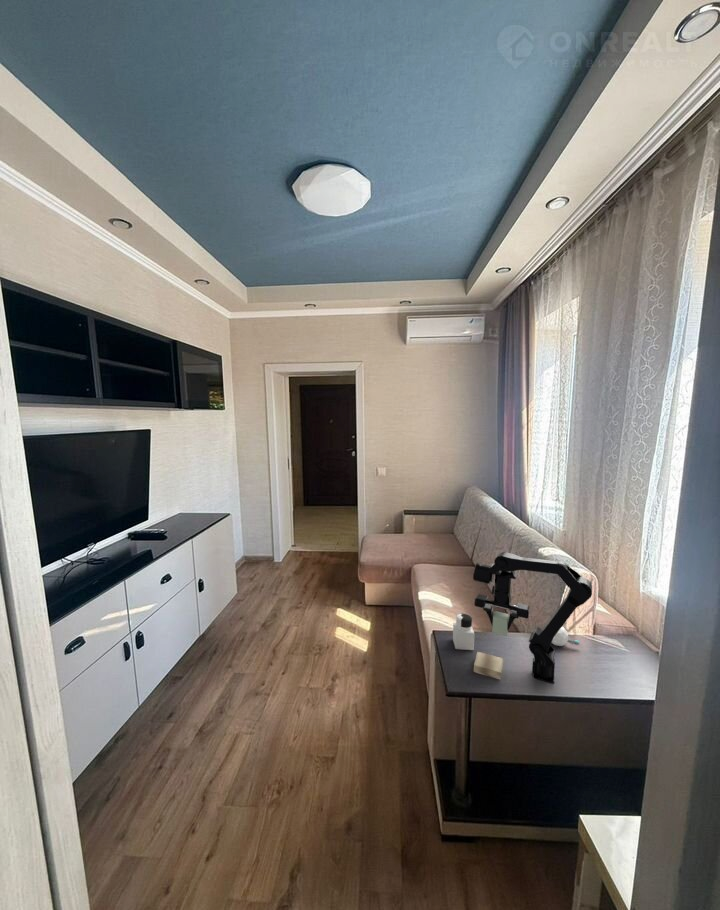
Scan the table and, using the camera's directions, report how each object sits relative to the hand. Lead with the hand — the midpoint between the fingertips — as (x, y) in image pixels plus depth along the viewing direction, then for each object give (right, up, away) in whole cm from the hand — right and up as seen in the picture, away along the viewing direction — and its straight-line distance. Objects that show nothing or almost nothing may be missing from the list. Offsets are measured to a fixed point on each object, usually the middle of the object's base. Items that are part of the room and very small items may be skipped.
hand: (500, 627), depth 137 cm
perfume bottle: (+30, -13, +12) cm, 34 cm away
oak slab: (-6, -13, -4) cm, 15 cm away
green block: (0, -1, 0) cm, 1 cm away
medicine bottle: (-11, -12, +10) cm, 19 cm away
